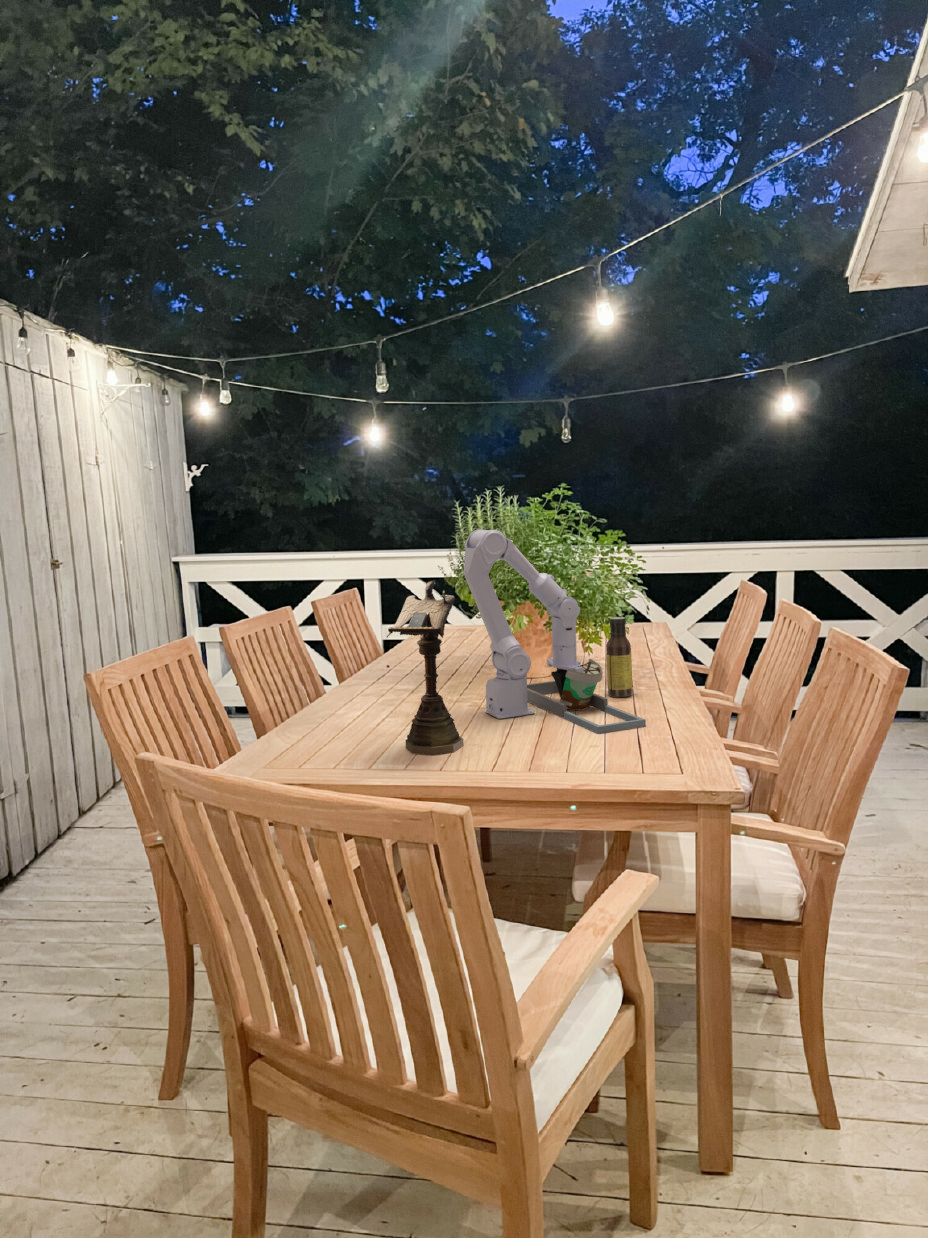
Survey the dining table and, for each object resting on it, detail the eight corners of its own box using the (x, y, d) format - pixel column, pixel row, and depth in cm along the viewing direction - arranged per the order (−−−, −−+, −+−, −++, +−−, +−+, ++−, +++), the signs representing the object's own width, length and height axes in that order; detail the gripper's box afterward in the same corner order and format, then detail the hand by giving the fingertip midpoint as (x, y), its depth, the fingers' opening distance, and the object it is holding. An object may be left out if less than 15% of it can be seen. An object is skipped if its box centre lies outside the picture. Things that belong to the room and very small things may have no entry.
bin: (562, 717, 191) (562, 705, 191) (517, 697, 213) (517, 685, 213) (607, 711, 196) (607, 698, 195) (558, 691, 218) (558, 680, 217)
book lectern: (446, 765, 160) (438, 584, 155) (386, 759, 165) (376, 584, 160) (478, 741, 175) (471, 576, 170) (422, 737, 180) (414, 576, 175)
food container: (578, 717, 193) (590, 679, 189) (555, 706, 196) (567, 668, 192) (600, 704, 203) (612, 668, 199) (579, 694, 206) (590, 657, 202)
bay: (598, 734, 177) (597, 727, 177) (563, 718, 191) (563, 712, 191) (645, 726, 181) (645, 719, 181) (608, 711, 195) (608, 705, 195)
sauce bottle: (637, 695, 210) (636, 617, 207) (619, 699, 206) (618, 620, 204) (619, 691, 215) (618, 615, 212) (601, 695, 212) (600, 617, 209)
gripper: (594, 647, 195) (595, 704, 197) (564, 639, 208) (565, 692, 210) (568, 650, 192) (569, 708, 194) (539, 642, 206) (540, 695, 207)
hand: (565, 700), depth 202 cm, fingers closed
